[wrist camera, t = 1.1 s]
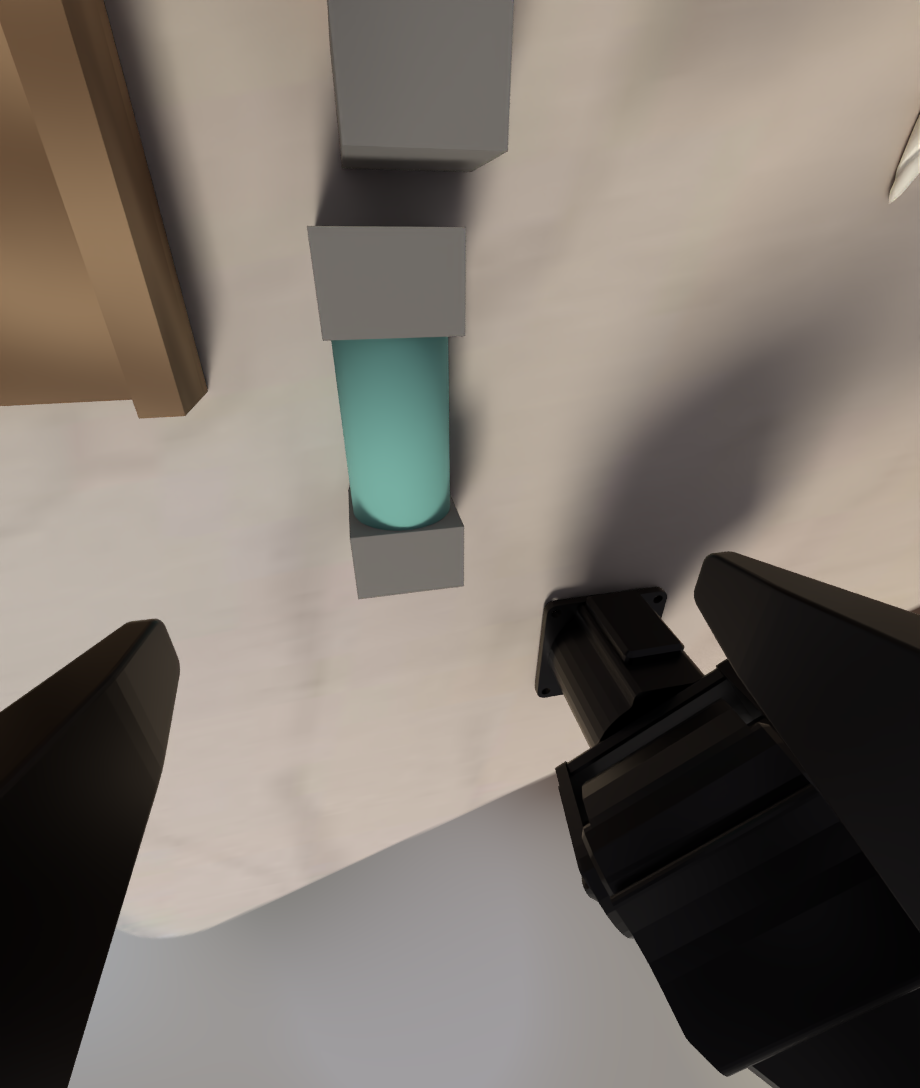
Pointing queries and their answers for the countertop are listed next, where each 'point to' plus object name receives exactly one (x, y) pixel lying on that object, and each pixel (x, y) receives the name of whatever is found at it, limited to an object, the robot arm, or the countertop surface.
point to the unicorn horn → (907, 164)
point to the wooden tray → (82, 226)
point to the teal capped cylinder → (395, 395)
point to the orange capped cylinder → (421, 82)
